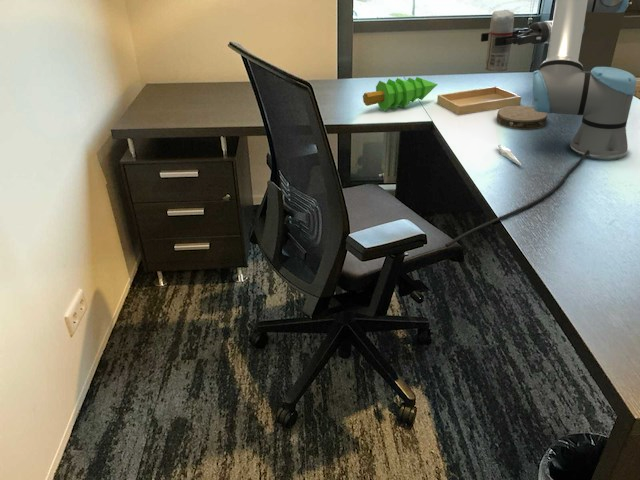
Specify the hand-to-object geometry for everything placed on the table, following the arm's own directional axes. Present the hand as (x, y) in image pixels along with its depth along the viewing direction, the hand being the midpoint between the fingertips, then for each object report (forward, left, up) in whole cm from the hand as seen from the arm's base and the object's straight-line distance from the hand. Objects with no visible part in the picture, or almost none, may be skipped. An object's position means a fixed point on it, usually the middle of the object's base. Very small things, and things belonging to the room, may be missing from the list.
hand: (488, 39), depth 195 cm
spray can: (+4, -2, -11) cm, 12 cm away
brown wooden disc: (-11, -20, -23) cm, 33 cm away
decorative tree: (-19, +22, -23) cm, 37 cm away
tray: (-2, +1, -23) cm, 23 cm away
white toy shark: (-43, -31, -23) cm, 58 cm away
